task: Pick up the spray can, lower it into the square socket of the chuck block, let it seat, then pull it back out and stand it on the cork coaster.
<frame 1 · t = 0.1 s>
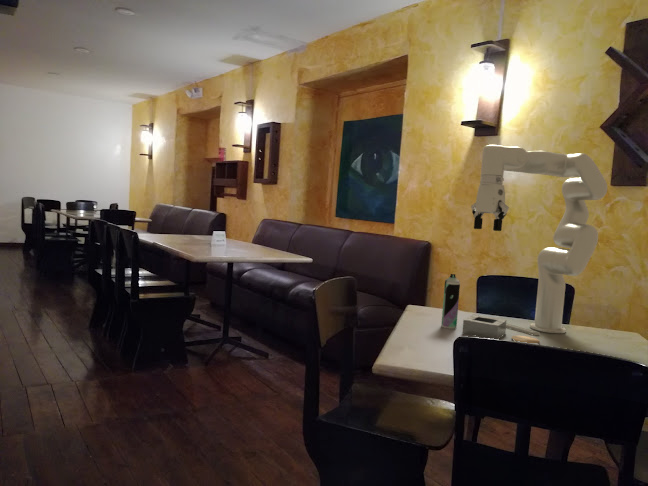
hand: (487, 229, 178), 37 cm above the table, tool pointing down, fingers open, 9 cm apart
spray can: (448, 327, 187), on the table
adjustable wrench: (507, 329, 193), on the table
coaster: (525, 341, 173), on the table
chuck block: (484, 333, 180), on the table
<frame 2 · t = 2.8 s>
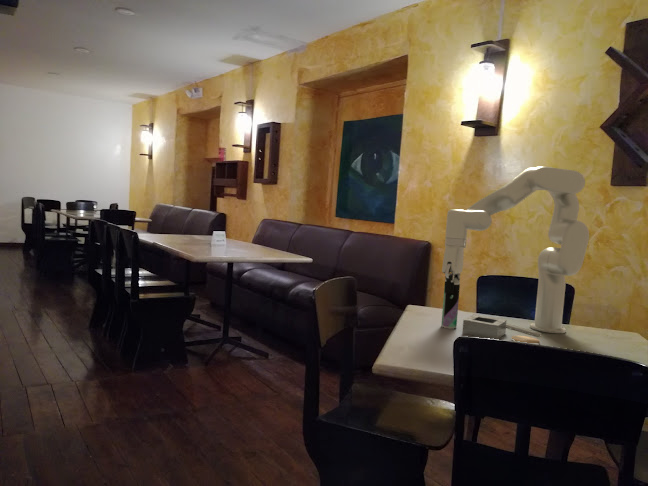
hand: (451, 291, 186), 14 cm above the table, tool pointing down, fingers closed on spray can, 5 cm apart
spray can: (448, 327, 187), on the table, touching gripper
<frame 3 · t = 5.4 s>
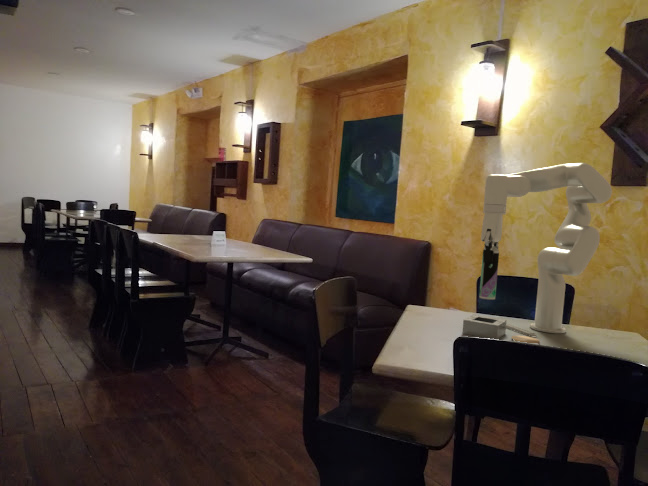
hand: (490, 260, 178), 26 cm above the table, tool pointing down, fingers closed on spray can, 5 cm apart
spray can: (487, 298, 179), point 13 cm above the table, touching gripper
when the fingers open (14 cm above the table, at t = 8.4 s): spray can stays where it is, resting in chuck block.
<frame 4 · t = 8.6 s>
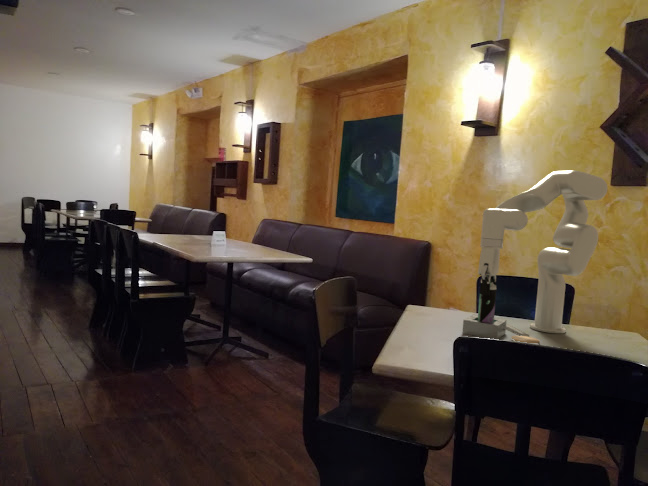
hand: (487, 293, 179), 15 cm above the table, tool pointing down, fingers open, 7 cm apart
spray can: (484, 334, 180), resting in chuck block
adjustable wrench: (506, 330, 191), on the table
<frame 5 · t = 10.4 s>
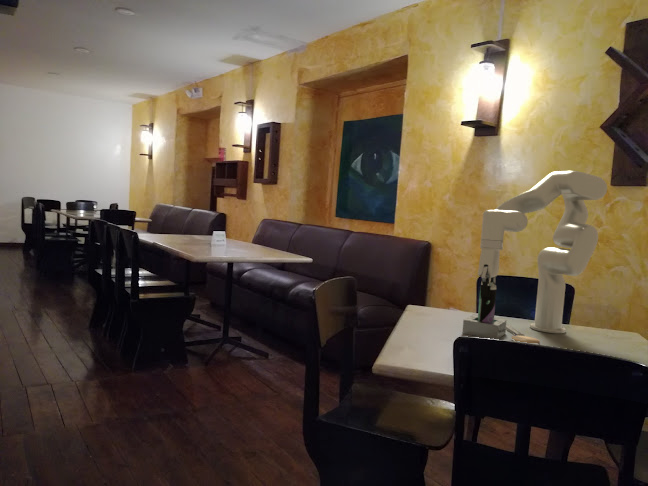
hand: (487, 295, 179), 14 cm above the table, tool pointing down, fingers closed on spray can, 5 cm apart
spray can: (484, 334, 180), resting in chuck block, touching gripper
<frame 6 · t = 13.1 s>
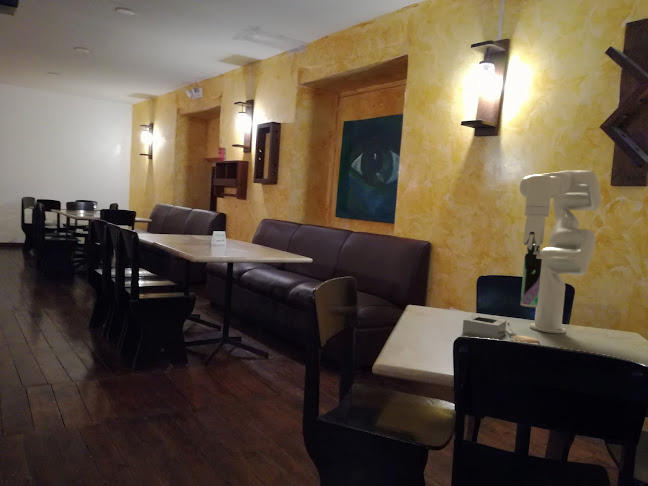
hand: (532, 264, 171), 26 cm above the table, tool pointing down, fingers closed on spray can, 5 cm apart
spray can: (528, 306, 172), point 12 cm above the table, touching gripper
when the fingers open (16 cm above the table, at t = 15.8 s): spray can stays where it is, resting on coaster.
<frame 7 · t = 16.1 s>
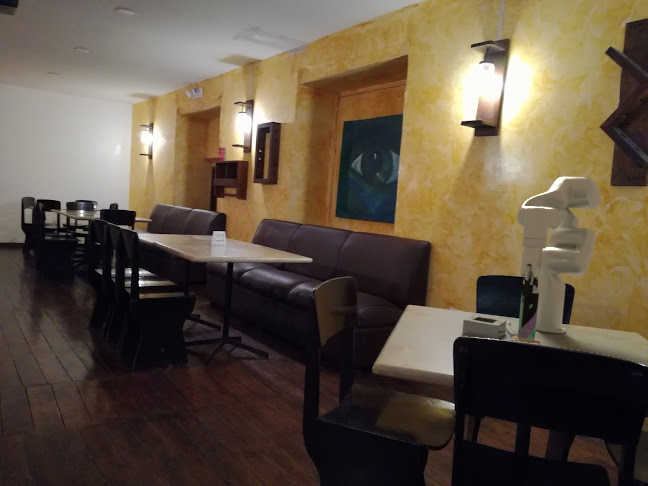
hand: (529, 294, 172), 16 cm above the table, tool pointing down, fingers open, 8 cm apart
spray can: (526, 339, 173), point 1 cm above the table, touching coaster
adjustable wrench: (505, 331, 189), on the table, touching coaster
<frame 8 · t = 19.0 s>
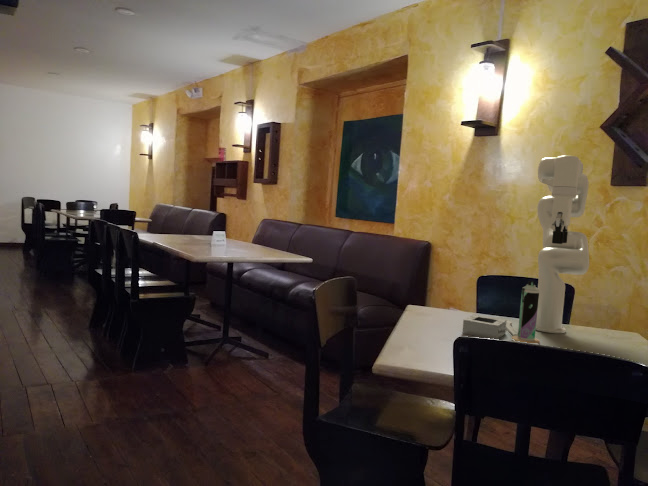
hand: (559, 243, 172), 34 cm above the table, tool pointing down, fingers open, 9 cm apart
adjustable wrench: (506, 331, 189), on the table
everything else where it was.
at the end: spray can 0.3 cm from the coaster (horizontally); spray can tilted 0°; the gripper is holding nothing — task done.
